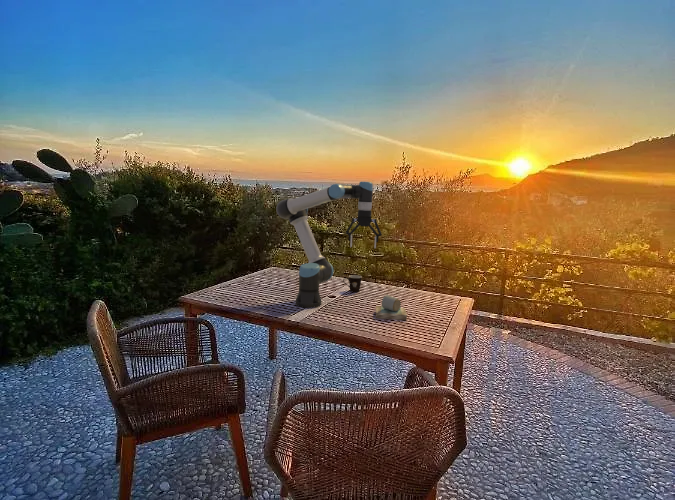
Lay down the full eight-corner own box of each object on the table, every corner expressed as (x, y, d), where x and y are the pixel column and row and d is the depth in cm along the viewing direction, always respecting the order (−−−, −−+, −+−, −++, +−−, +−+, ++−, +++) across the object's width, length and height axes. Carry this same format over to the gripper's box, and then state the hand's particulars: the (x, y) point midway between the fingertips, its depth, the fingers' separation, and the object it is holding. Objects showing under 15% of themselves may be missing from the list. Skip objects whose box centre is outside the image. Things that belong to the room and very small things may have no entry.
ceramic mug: (393, 313, 198) (394, 299, 197) (380, 309, 203) (381, 295, 202) (404, 309, 206) (405, 295, 205) (391, 306, 211) (392, 292, 210)
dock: (375, 318, 199) (376, 312, 198) (375, 311, 210) (376, 305, 210) (406, 320, 197) (406, 314, 197) (404, 313, 209) (404, 307, 209)
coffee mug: (363, 290, 253) (364, 276, 251) (357, 293, 245) (357, 278, 244) (348, 288, 259) (349, 273, 257) (342, 290, 252) (342, 276, 250)
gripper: (342, 209, 207) (340, 247, 210) (387, 211, 205) (385, 249, 208) (343, 208, 214) (341, 245, 217) (387, 210, 212) (384, 247, 215)
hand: (363, 247), depth 213 cm, fingers open, 13 cm apart
